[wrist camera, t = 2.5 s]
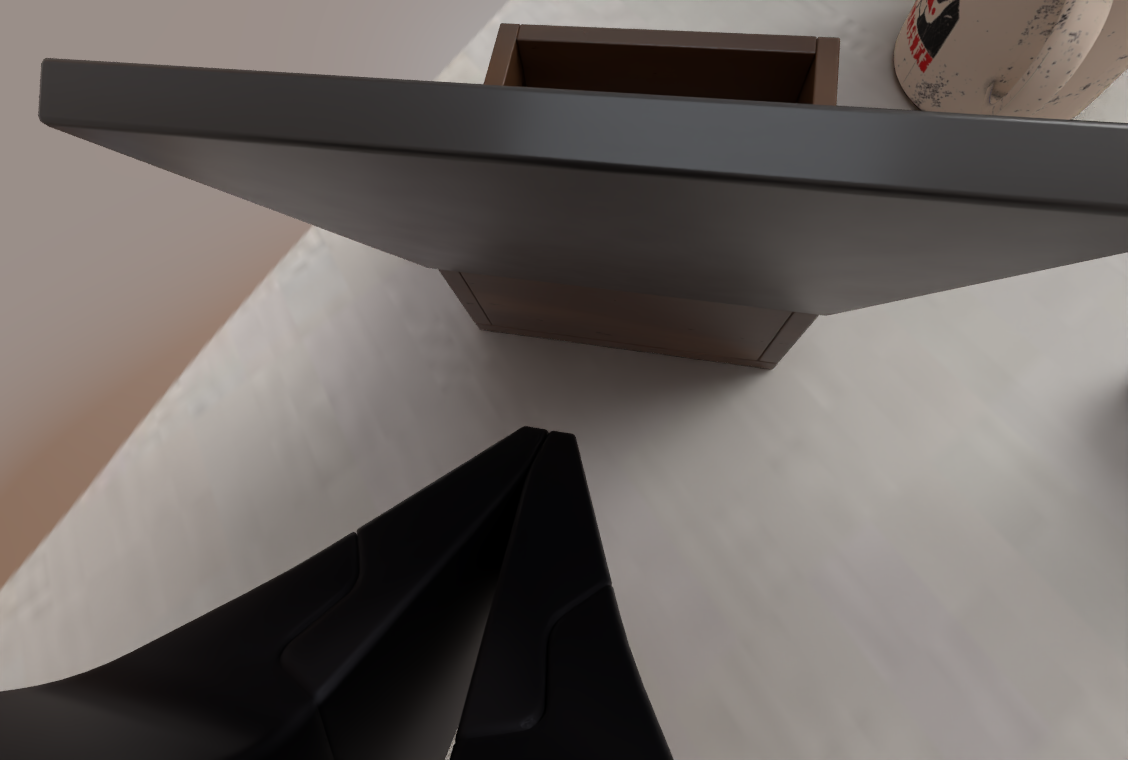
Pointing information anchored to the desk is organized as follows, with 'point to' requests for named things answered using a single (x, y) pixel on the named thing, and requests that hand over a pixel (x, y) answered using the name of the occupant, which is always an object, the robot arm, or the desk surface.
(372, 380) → the desk surface
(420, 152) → the dark grey flat tile
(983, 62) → the teacup with lid
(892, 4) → the desk surface
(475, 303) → the wooden box
